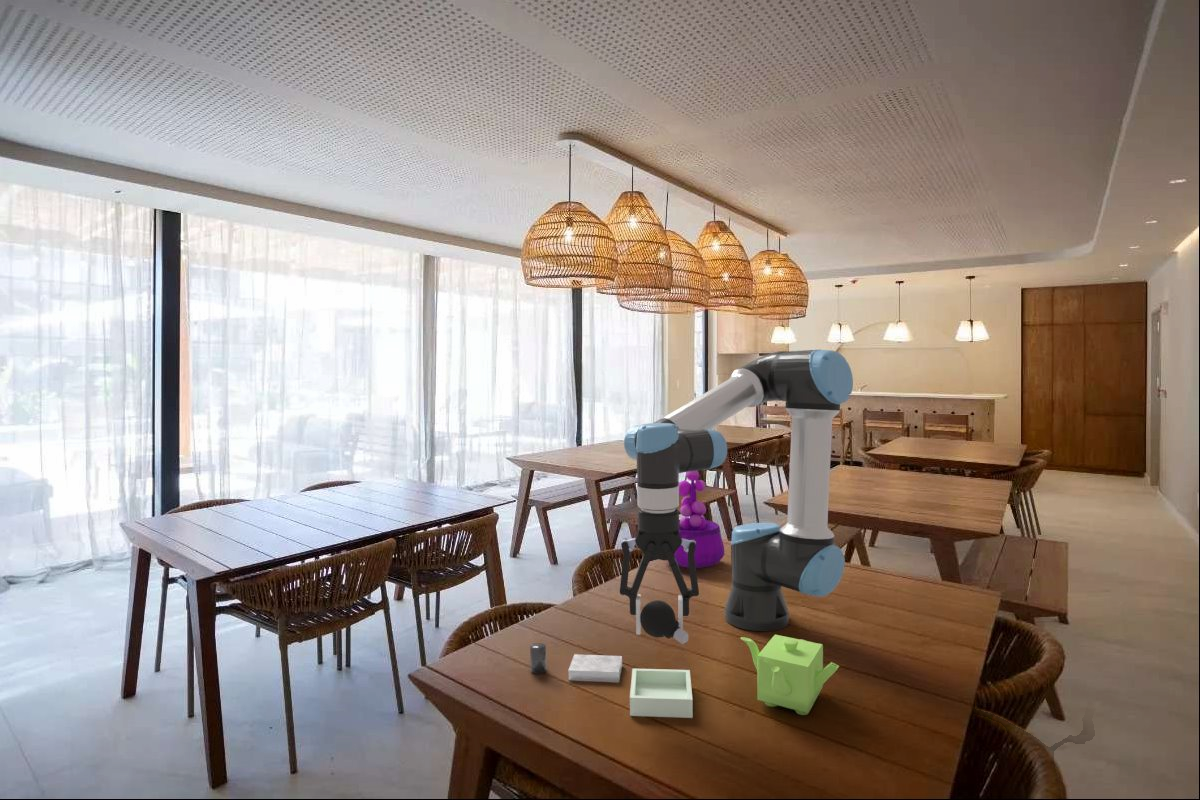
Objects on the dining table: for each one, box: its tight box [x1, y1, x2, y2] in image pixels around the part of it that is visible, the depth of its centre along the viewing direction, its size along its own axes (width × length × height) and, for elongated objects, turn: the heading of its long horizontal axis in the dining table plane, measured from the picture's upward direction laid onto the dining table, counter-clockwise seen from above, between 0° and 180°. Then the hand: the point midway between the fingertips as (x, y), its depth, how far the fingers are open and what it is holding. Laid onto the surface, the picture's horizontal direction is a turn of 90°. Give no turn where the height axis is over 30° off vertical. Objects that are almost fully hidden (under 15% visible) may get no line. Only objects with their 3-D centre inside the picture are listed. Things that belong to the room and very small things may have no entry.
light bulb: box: [640, 599, 690, 645], centre depth 116 cm, size 6×6×10 cm
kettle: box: [740, 634, 840, 716], centre depth 118 cm, size 15×14×11 cm
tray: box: [629, 668, 694, 719], centre depth 119 cm, size 11×11×3 cm
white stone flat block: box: [567, 653, 623, 683], centre depth 130 cm, size 10×7×2 cm
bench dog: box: [529, 642, 547, 675], centre depth 132 cm, size 3×3×5 cm
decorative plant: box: [674, 470, 725, 569], centre depth 198 cm, size 19×18×30 cm
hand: (659, 631), depth 119 cm, fingers closed on light bulb, 7 cm apart
